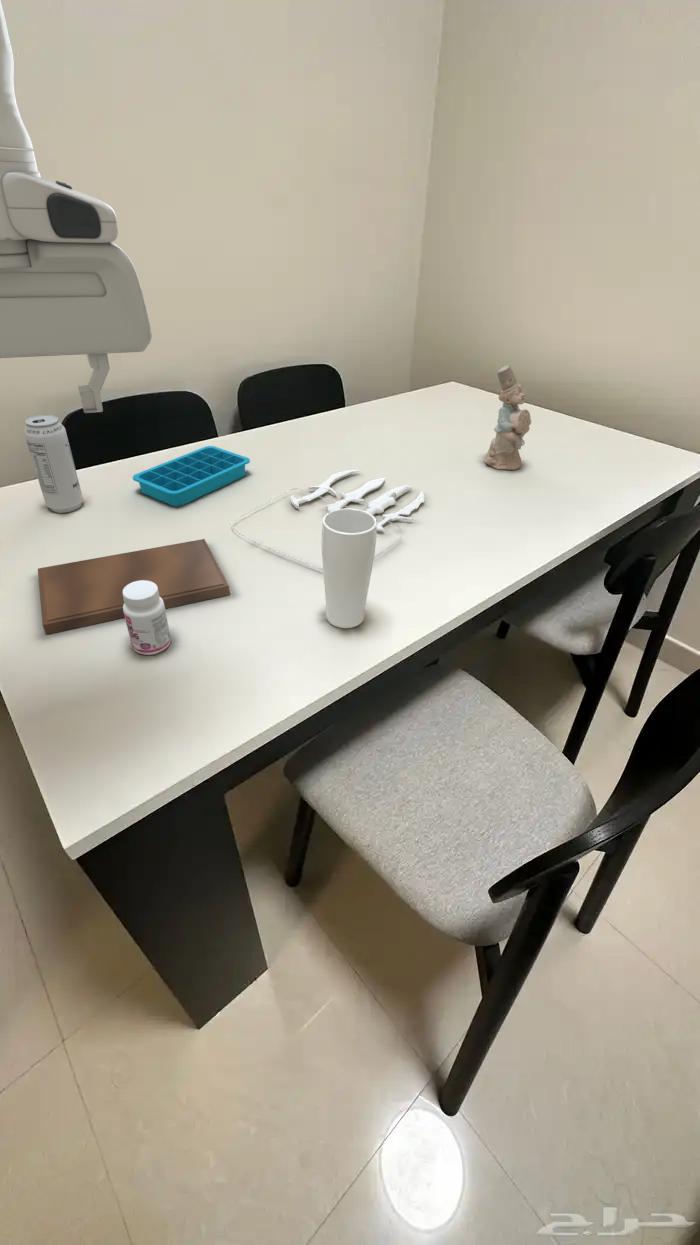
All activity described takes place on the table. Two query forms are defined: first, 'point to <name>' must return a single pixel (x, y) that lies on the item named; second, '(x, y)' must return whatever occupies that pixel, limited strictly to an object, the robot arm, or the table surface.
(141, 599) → the pill bottle
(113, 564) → the cutting board
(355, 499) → the knife set
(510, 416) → the figurine
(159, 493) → the ice cube tray
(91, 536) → the table surface
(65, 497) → the energy drink can
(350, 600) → the drinking glass
